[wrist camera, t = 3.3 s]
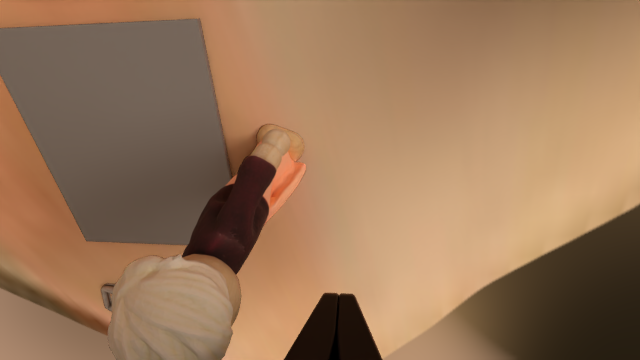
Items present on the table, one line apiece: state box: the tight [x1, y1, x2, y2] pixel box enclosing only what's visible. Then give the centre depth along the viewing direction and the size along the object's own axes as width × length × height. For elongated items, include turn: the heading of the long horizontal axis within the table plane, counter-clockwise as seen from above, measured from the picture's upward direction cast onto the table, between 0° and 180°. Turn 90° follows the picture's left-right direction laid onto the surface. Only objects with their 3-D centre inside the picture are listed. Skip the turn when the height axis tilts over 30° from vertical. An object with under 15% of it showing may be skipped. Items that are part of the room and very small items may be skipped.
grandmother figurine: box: [108, 124, 306, 360], centre depth 12 cm, size 8×4×13 cm, turn 159°
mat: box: [0, 19, 232, 245], centre depth 19 cm, size 12×14×1 cm
